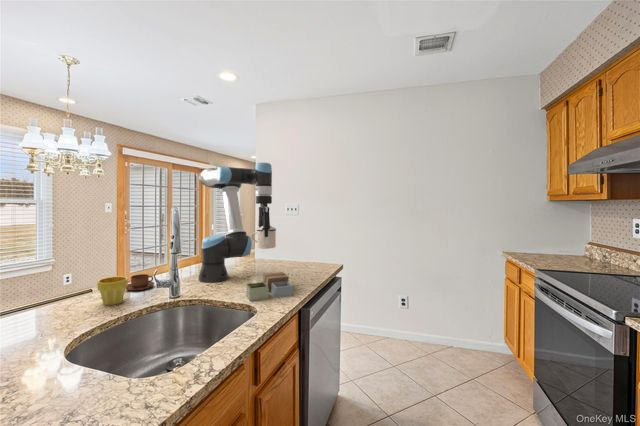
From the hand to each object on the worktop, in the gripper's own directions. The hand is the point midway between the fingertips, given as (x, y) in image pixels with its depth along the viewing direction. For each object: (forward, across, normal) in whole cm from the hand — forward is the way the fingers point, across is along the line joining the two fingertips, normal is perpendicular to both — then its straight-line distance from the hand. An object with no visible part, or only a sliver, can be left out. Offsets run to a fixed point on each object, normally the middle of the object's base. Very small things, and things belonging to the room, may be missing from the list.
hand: (264, 242), depth 143 cm
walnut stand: (+23, 0, +5) cm, 24 cm away
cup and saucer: (+23, -22, -56) cm, 64 cm away
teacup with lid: (+3, -1, 0) cm, 3 cm away
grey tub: (+23, +10, +6) cm, 26 cm away
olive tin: (+23, +11, -5) cm, 26 cm away
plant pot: (+23, -4, -62) cm, 66 cm away
